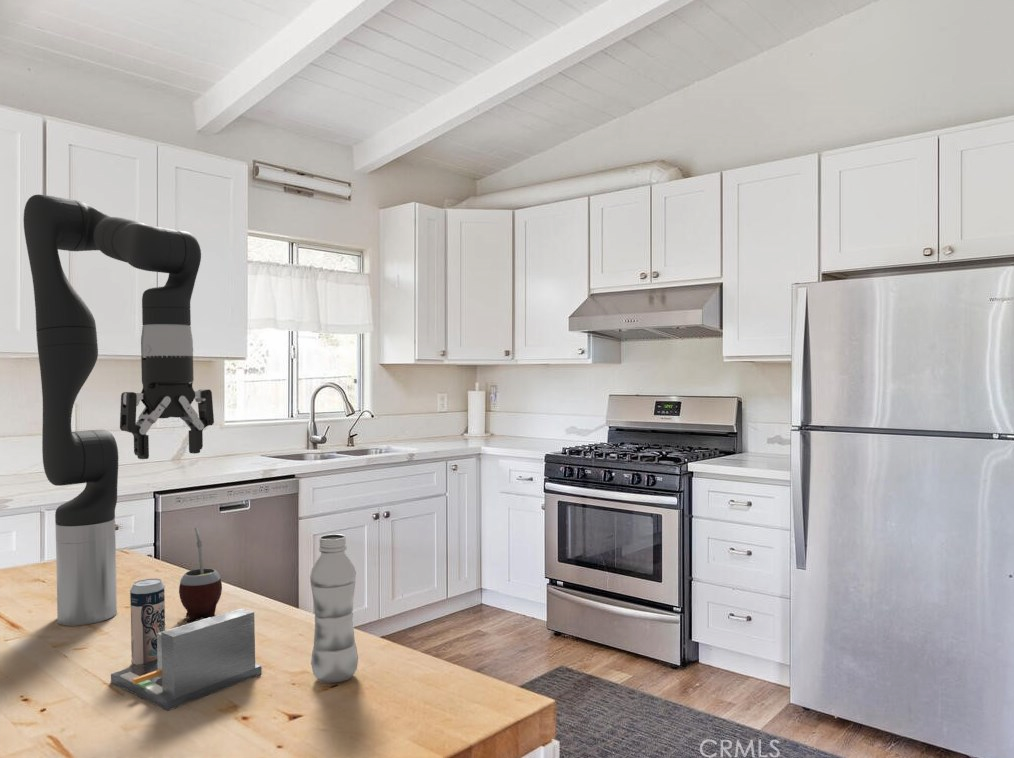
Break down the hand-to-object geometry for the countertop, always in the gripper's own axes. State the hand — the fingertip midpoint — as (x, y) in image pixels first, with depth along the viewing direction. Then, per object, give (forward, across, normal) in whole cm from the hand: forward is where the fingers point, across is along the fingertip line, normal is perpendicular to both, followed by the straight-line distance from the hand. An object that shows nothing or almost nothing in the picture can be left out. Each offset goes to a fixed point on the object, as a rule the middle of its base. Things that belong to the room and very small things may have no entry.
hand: (169, 455), depth 119 cm
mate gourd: (+30, -10, -9) cm, 33 cm away
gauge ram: (+29, +8, +14) cm, 33 cm away
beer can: (+30, +6, +4) cm, 31 cm away
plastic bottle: (+30, -6, +32) cm, 44 cm away
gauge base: (+30, +6, +14) cm, 34 cm away
